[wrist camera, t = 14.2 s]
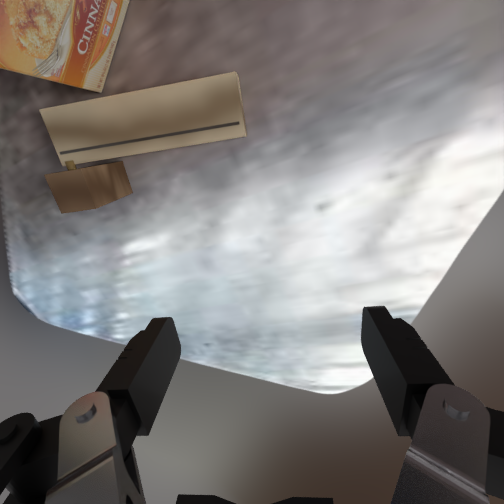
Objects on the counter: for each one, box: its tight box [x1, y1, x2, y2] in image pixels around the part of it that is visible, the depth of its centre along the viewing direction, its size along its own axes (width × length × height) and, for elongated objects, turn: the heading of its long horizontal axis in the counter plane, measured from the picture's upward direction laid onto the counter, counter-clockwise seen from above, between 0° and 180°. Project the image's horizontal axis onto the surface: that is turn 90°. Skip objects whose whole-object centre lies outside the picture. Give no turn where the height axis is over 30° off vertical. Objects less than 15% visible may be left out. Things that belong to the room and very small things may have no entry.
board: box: [40, 72, 247, 166], centre depth 30 cm, size 6×22×3 cm, turn 98°
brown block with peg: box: [44, 160, 133, 213], centre depth 30 cm, size 5×4×8 cm
